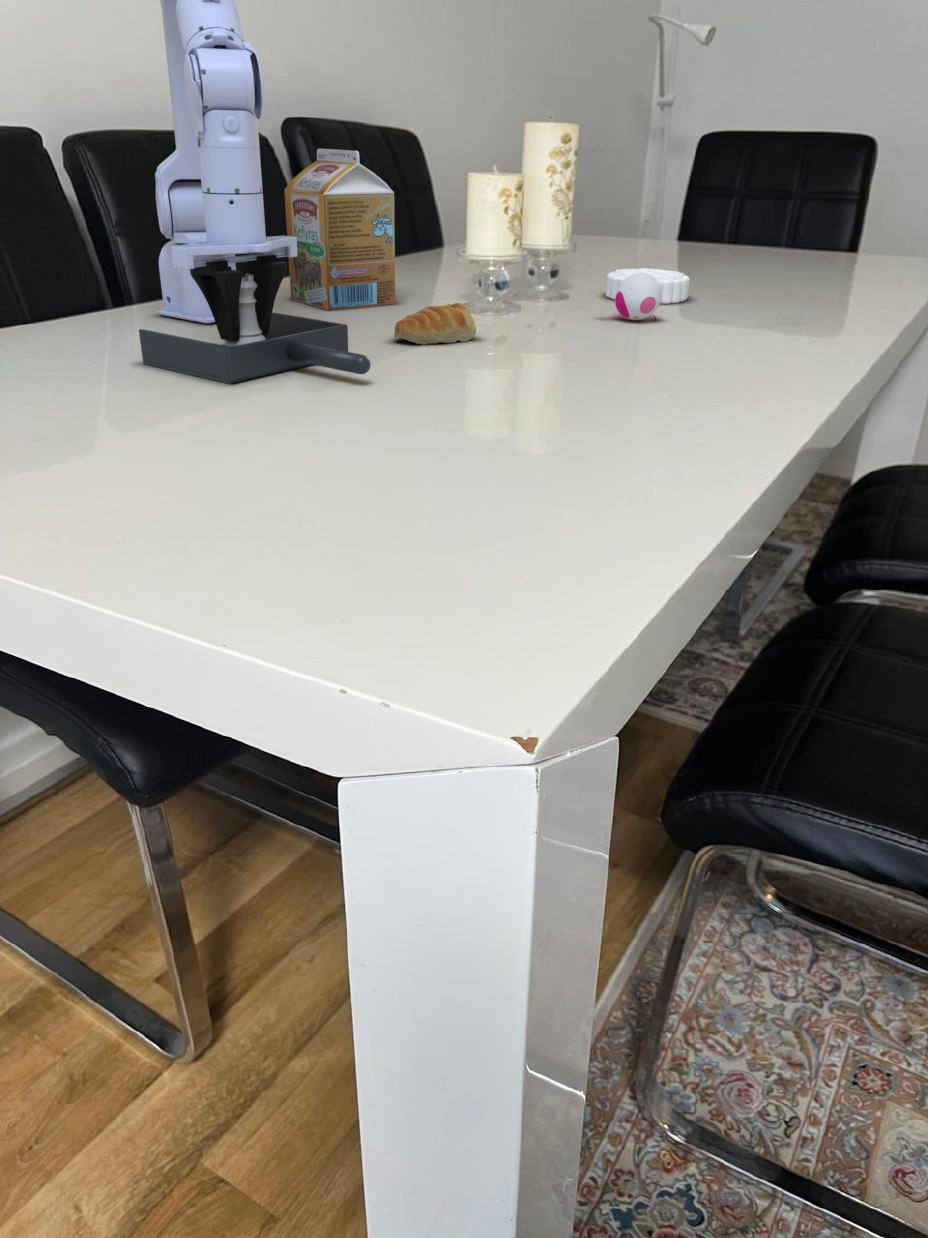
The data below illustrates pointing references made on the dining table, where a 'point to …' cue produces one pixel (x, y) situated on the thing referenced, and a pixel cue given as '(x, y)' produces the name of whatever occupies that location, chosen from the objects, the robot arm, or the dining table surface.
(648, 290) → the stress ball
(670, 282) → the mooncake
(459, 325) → the pastry
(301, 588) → the dining table surface
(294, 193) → the milk carton
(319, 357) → the scoop
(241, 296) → the rook chess piece
